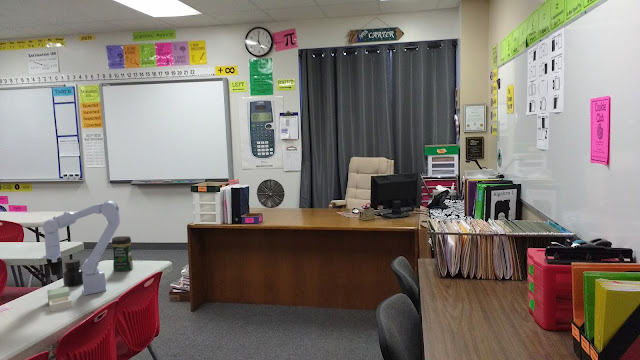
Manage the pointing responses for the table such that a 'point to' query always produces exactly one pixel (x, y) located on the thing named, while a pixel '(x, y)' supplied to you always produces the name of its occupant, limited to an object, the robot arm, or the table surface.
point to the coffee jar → (122, 253)
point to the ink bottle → (72, 273)
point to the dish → (60, 303)
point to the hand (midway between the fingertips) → (54, 274)
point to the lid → (58, 293)
